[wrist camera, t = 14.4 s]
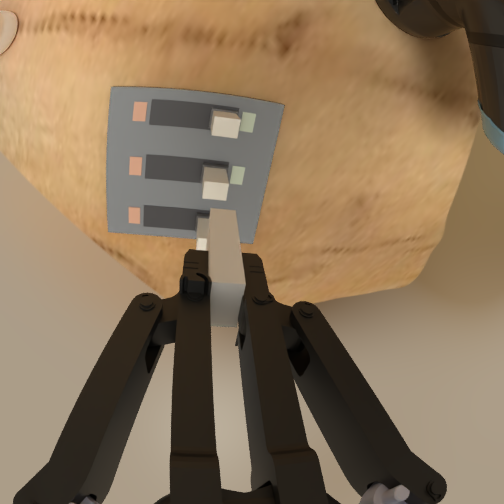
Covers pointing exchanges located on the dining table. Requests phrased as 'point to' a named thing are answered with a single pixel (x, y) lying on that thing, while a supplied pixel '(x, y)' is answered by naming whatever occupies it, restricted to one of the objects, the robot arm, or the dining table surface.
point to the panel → (184, 159)
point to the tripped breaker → (202, 230)
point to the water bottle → (7, 29)
